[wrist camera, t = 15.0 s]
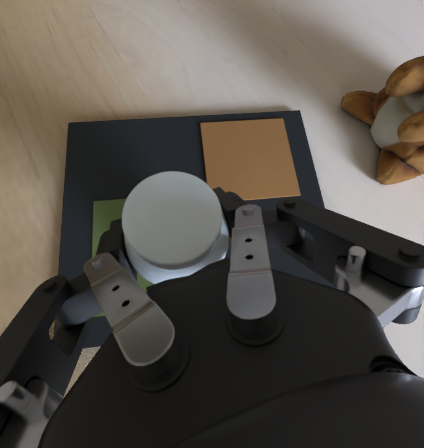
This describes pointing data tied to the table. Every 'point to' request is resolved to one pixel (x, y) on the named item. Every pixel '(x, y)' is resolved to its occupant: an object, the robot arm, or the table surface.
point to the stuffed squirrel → (395, 121)
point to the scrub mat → (182, 162)
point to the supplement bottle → (173, 226)
